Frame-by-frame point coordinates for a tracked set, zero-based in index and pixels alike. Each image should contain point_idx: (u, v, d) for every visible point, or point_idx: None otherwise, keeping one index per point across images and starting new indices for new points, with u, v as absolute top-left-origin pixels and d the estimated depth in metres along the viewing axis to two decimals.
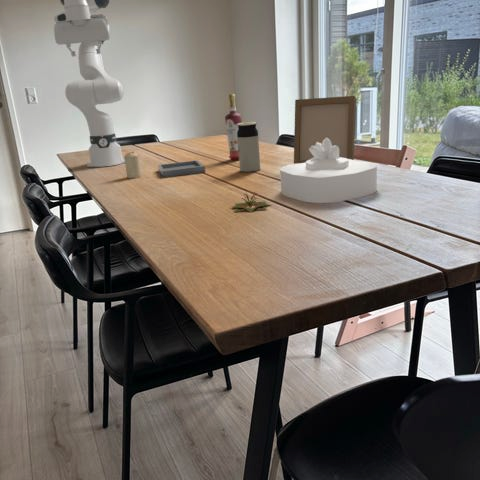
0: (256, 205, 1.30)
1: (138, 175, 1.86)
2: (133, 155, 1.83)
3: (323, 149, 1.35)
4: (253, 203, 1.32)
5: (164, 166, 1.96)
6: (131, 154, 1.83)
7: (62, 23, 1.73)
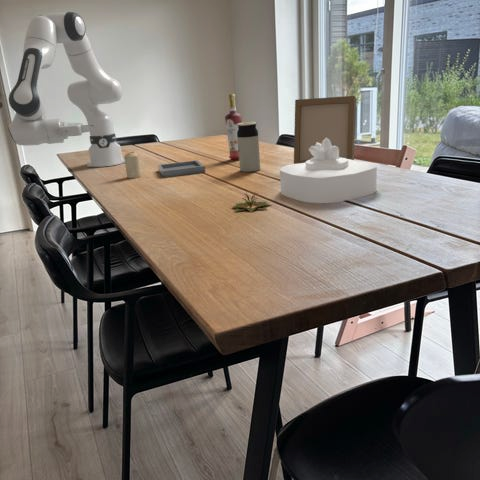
0: (256, 205, 1.30)
1: (138, 175, 1.86)
2: (133, 155, 1.83)
3: (323, 149, 1.35)
4: (253, 203, 1.32)
5: (164, 166, 1.96)
6: (131, 154, 1.83)
7: None
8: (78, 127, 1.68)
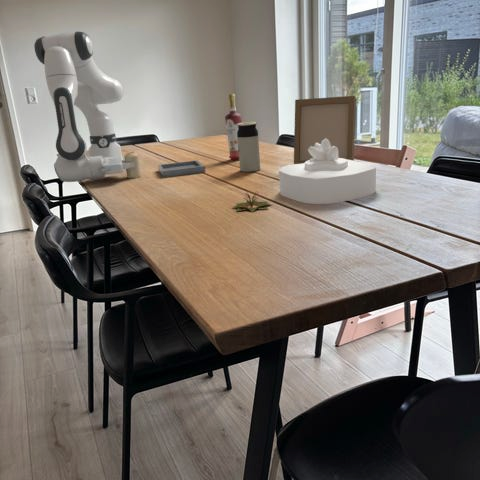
0: (257, 205, 1.30)
1: (138, 175, 1.86)
2: (133, 155, 1.83)
3: (322, 150, 1.35)
4: (254, 203, 1.32)
5: (164, 166, 1.96)
6: (131, 154, 1.83)
7: None
8: (121, 165, 1.75)
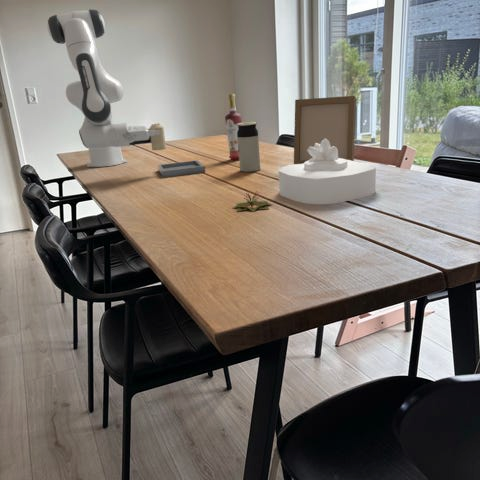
0: (258, 204, 1.30)
1: (163, 147, 1.84)
2: (159, 127, 1.81)
3: (321, 150, 1.34)
4: (255, 203, 1.32)
5: (164, 166, 1.96)
6: (157, 125, 1.81)
7: None
8: (146, 132, 1.73)
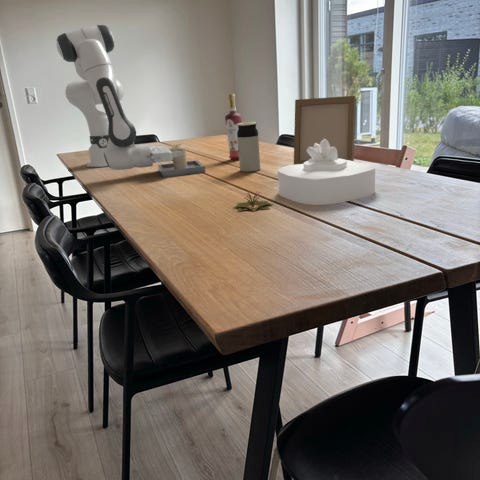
0: (258, 204, 1.31)
1: (185, 167, 1.88)
2: (181, 147, 1.85)
3: (321, 150, 1.34)
4: (255, 202, 1.32)
5: (164, 166, 1.96)
6: (179, 146, 1.85)
7: None
8: (170, 153, 1.78)
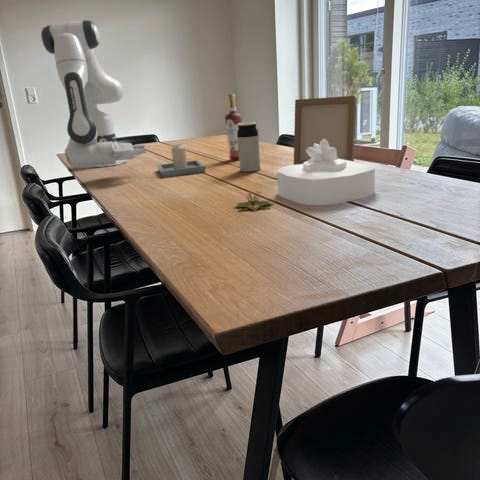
0: (259, 204, 1.31)
1: (185, 167, 1.88)
2: (181, 147, 1.85)
3: (320, 150, 1.34)
4: (256, 202, 1.32)
5: (164, 166, 1.96)
6: (179, 146, 1.85)
7: None
8: (132, 151, 1.75)
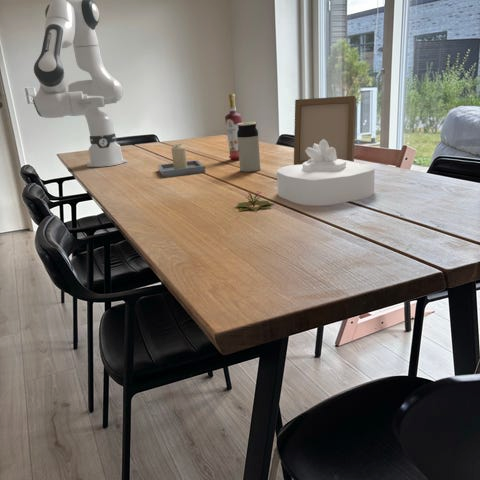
0: (259, 204, 1.31)
1: (185, 167, 1.88)
2: (181, 147, 1.85)
3: (320, 151, 1.33)
4: (256, 202, 1.32)
5: (164, 166, 1.96)
6: (179, 146, 1.85)
7: None
8: (101, 98, 1.70)
